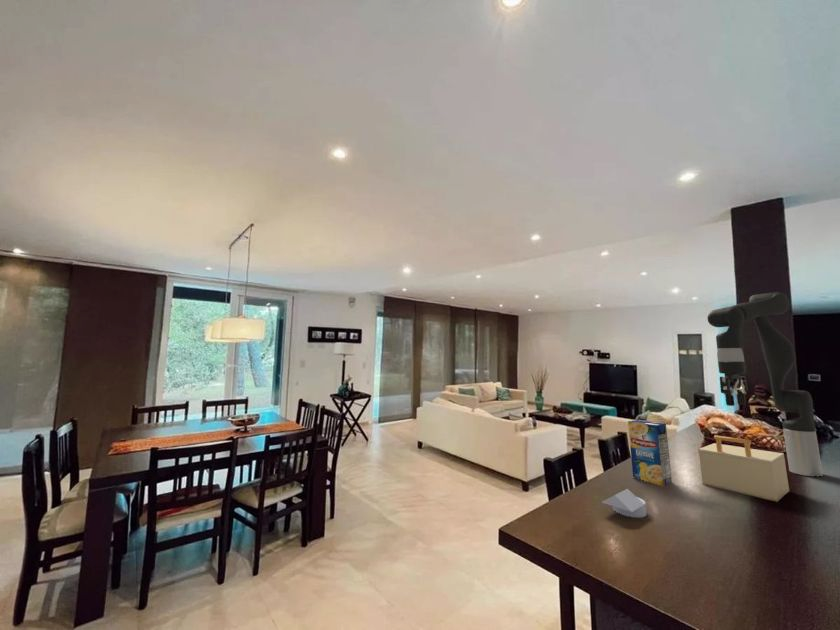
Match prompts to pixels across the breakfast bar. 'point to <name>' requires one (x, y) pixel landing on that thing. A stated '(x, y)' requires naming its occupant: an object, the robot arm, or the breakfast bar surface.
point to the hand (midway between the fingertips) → (736, 405)
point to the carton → (745, 475)
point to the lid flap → (740, 450)
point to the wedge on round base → (627, 504)
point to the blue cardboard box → (650, 451)
